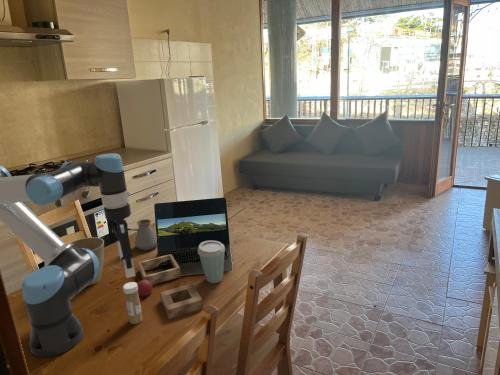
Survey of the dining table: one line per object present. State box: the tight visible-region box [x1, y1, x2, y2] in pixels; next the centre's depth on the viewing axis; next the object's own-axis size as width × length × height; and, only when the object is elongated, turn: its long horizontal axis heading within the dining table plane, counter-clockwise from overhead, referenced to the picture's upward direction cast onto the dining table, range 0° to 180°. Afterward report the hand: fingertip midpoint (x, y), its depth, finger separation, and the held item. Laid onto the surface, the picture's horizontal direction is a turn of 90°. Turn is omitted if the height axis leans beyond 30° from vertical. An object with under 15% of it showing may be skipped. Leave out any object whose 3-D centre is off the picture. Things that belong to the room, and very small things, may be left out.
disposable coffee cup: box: [197, 240, 226, 284], centre depth 149 cm, size 11×11×15 cm
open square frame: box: [137, 254, 182, 286], centre depth 158 cm, size 14×14×4 cm
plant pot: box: [68, 236, 105, 286], centre depth 154 cm, size 15×15×16 cm
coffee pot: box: [111, 218, 158, 251], centre depth 178 cm, size 21×12×15 cm, turn 137°
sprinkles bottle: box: [122, 281, 144, 325], centre depth 128 cm, size 5×5×13 cm
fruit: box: [136, 279, 153, 298], centre depth 143 cm, size 6×6×8 cm
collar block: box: [159, 283, 204, 320], centre depth 136 cm, size 12×12×4 cm
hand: (127, 267), depth 124 cm, fingers open, 13 cm apart
